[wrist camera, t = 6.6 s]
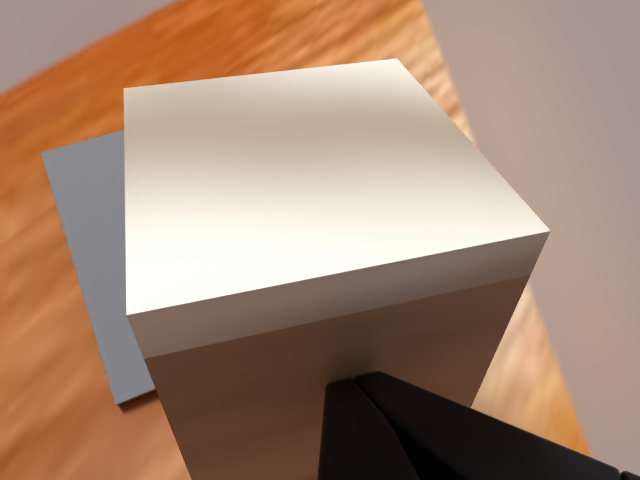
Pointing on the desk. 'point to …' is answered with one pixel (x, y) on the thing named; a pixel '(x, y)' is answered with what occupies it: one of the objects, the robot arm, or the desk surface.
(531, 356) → the desk surface
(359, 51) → the desk surface
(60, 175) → the mat
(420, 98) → the tan wooden block
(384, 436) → the robot arm
